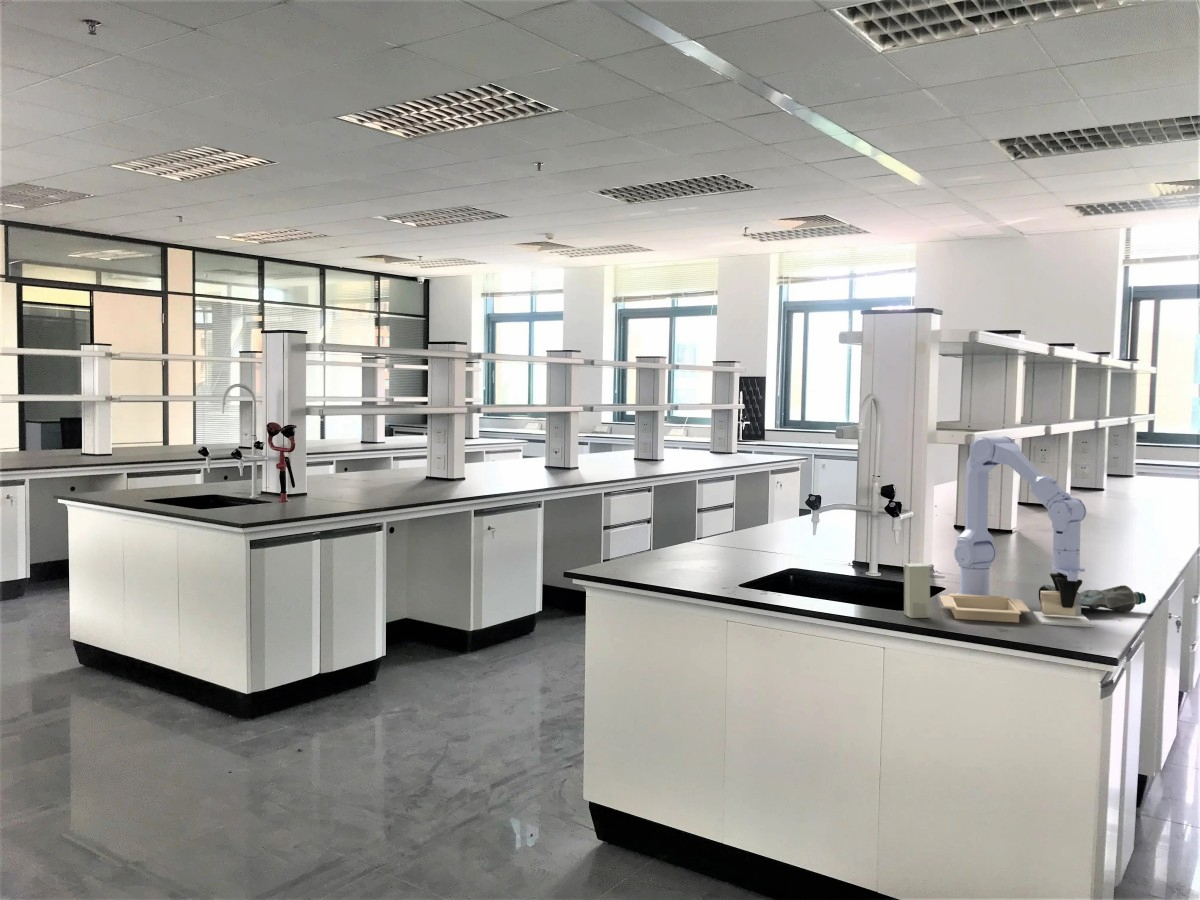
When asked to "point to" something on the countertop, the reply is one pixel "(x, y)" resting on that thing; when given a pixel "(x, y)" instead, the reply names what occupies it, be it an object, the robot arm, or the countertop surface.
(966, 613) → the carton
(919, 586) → the box
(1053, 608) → the block
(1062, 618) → the mat
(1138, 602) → the crushed plastic bottle
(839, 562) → the countertop surface
